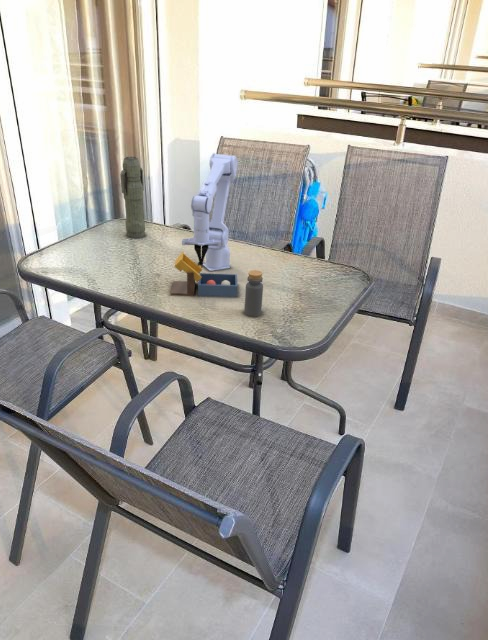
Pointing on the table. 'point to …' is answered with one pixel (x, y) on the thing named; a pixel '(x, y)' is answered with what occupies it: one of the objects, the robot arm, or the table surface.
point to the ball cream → (225, 282)
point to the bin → (217, 285)
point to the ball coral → (211, 282)
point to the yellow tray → (188, 266)
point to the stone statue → (133, 197)
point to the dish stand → (184, 286)
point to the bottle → (253, 294)
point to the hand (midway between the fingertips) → (201, 263)
